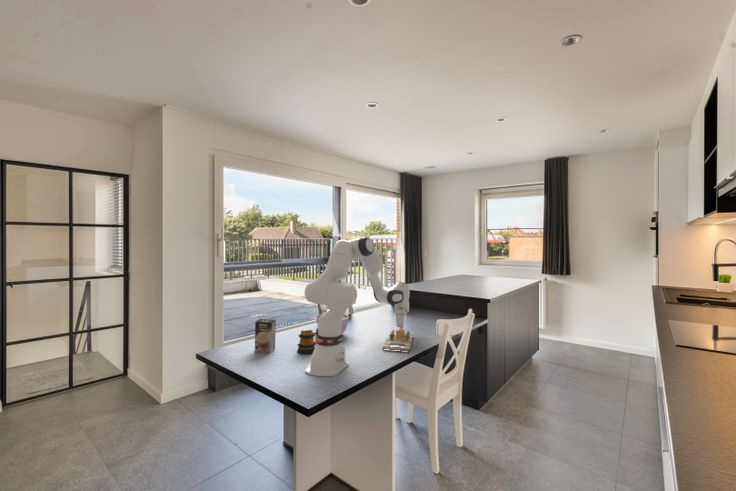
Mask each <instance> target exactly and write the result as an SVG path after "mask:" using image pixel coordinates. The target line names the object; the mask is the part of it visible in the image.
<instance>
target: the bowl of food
mask: <svg viewBox="0 0 736 491" xmlns="http://www.w3.org/2000/svg"><path fill="white" fill-rule="evenodd" d="M322 314H323V313H320V314H318V315H316V316H315V318H316V323H317V325H318V322H319V318H320V316H321V315H322ZM349 318H350V316H349V315H347V314H346V313H344V315H343V319H342V335H343V334H344V333H345V331H346V329H347V326H348V323H349Z"/></svg>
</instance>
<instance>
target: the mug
mask: <svg viewBox="0 0 736 491" xmlns="http://www.w3.org/2000/svg"><path fill="white" fill-rule="evenodd" d="M317 335H318V327H317V328H316V330H315V332H314V331H313V330H312V329H308V330H302V329H301V331H300V334H297V336H298V338H299V339H300V340H299V343H297V344H296V345H297V350H296V353H297V354H299V355H305V356H306V355H307V356H308V355H312V354H313V351H314V348H315V346H316V344H317V343H316V342H315V341H314V340H315V339H316V338H317ZM314 337H315V339H314Z"/></svg>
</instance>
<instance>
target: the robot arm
mask: <svg viewBox="0 0 736 491" xmlns="http://www.w3.org/2000/svg"><path fill="white" fill-rule="evenodd" d="M374 245H375V244H374V242H373V240H372V239H371V238H370V237H369V236H361V237H356V238H352V239H348V240H347V239H340V240H338V241H336V243H335V244H334V245H333V248H332V250H331V252H330V255H329V258H328V261H327V264H326V267H325V269H324V271H322V273H321V274H320V275H319V276H318V277H316V279H314V280H312V281H310V282H309V283H307V284H306V286H305V288H304V296H305V299H306V300H307V302H308V303H312V304H316V305H322V306H323V305H324V306H325V305H326V306H329V310H328V311H326V312H323V313H321V314H322V315H321V316H320V318H319V322H318V324H317V328H318V335H317V338H316V337H315V339H314V340H315V341H314V342H316V343H317V344H316V343H315V344H316V346H314V347H315V348H314V351H313V354H311V356H310V357H311V358H310V360H309V362H308V364H307V367H306V368H305V369H304V370H305V372H304V373H305V374H307V375H310V376H315V377H317V376H318V377H335V376H336V375H338V374H339V373H340V372H341V371H343V370H344V369H345V368H347V367H348V366H349V364H350V362H348V361H347V358H346V346H345V345H344V344H343V334H342V319H343V315H344V314H346V311H347V310H348V309H349V308H350V307H351V306H352V305H353V304H355V302H356V301H357V298H358V290H357V288H356V287H355V285H353V284H350V283H347V282H339V281H341V280H343V279H346V278H347V276H348V274H349V270H350V267H351V263H352V261H354V260H360V262H361V264H362V266H363V268H364V270H365V272H366V277H367V279H368V281H369V283H370V285H371V287H372V290H373V297H374V299H375V301H376V302H378V303H383V304H386V305H391V306H394V313H395V321H396V322H395V323H396V324H395V325H396V327H397V328H399V329H402V330H404V325H405V323H406V320H407V315H408V313H409V312H410V301H409V300H410V285H409V284H408V283H407V282H402V281H397V282H395V284H394V285H392V286H390V287H388V286H386V285H384V284H382V281H381V279H380V276H379V274H380V272H381V271H382V270H383V268H384V262H383V259H382V258H381V256H380V253H379V252H378V250H377V249H376V247H375V246H374Z"/></svg>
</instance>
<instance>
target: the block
mask: <svg viewBox="0 0 736 491" xmlns="http://www.w3.org/2000/svg"><path fill="white" fill-rule="evenodd" d="M395 330H396V331H395V333H396V338H402V339H404V334H405V329H403V330H402V329H400V328H399V329H398V328H397V329H395Z"/></svg>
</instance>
